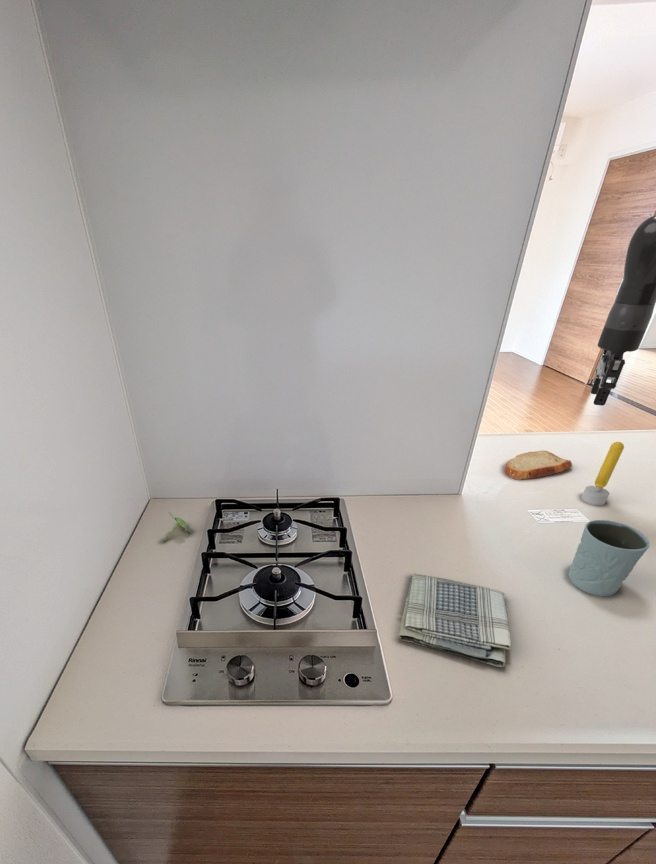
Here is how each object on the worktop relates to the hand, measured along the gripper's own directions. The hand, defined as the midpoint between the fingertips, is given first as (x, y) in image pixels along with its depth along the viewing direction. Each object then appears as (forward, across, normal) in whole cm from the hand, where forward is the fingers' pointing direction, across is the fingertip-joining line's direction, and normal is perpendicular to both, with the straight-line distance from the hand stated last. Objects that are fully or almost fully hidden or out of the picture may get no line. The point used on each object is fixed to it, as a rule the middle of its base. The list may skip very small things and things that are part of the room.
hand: (596, 399), depth 103 cm
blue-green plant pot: (+27, -35, -5) cm, 45 cm away
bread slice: (+26, +13, +6) cm, 30 cm away
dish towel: (+26, -59, +18) cm, 67 cm away
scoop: (+26, +1, -8) cm, 27 cm away
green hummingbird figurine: (+26, -60, +82) cm, 105 cm away
